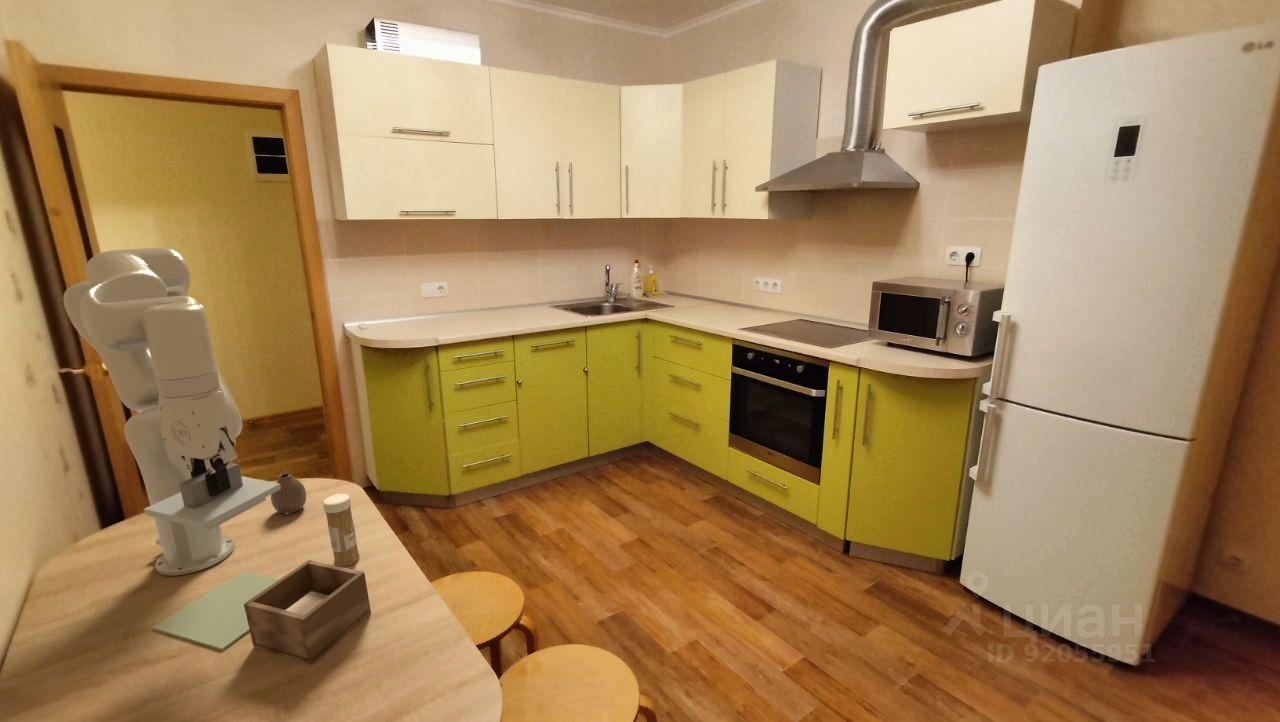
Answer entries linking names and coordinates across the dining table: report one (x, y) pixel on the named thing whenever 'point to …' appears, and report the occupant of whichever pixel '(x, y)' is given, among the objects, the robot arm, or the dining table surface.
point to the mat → (217, 613)
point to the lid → (212, 500)
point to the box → (308, 611)
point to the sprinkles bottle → (341, 529)
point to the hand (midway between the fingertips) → (213, 490)
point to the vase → (288, 494)
